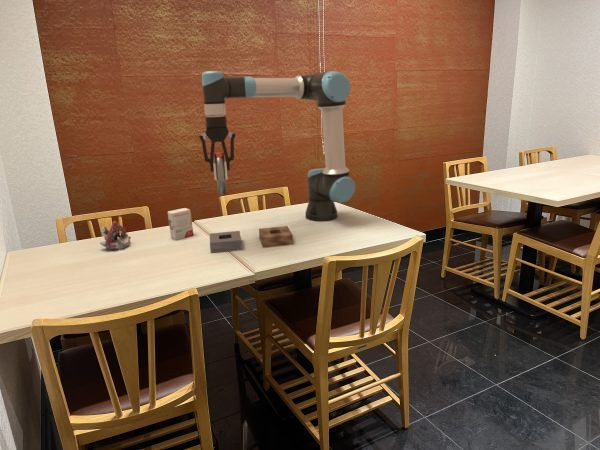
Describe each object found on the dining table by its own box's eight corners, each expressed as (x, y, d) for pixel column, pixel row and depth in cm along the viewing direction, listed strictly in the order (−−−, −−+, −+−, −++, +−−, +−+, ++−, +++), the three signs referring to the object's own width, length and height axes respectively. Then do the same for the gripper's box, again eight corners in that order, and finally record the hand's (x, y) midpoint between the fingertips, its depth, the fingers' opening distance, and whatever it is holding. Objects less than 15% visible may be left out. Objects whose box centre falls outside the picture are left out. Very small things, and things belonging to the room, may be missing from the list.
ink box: (188, 233, 194) (185, 207, 191) (194, 235, 190) (191, 209, 187) (170, 237, 189) (166, 211, 185) (175, 240, 185) (171, 213, 182)
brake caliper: (121, 247, 172) (102, 223, 172) (106, 261, 177) (87, 237, 176) (140, 238, 182) (122, 215, 182) (125, 251, 187) (107, 229, 187)
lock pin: (226, 192, 171) (223, 152, 167) (227, 194, 168) (223, 153, 164) (217, 193, 171) (214, 152, 166) (218, 195, 168) (214, 154, 163)
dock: (240, 239, 183) (239, 230, 181) (242, 249, 171) (241, 239, 170) (210, 242, 180) (209, 233, 179) (210, 253, 169) (209, 243, 168)
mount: (287, 235, 186) (287, 226, 185) (292, 244, 175) (292, 234, 174) (259, 237, 184) (258, 228, 183) (262, 247, 173) (262, 237, 171)
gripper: (237, 114, 166) (242, 176, 173) (192, 116, 163) (199, 179, 170) (239, 115, 159) (243, 179, 166) (192, 117, 156) (198, 182, 163)
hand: (221, 179), depth 168 cm, fingers closed on lock pin, 3 cm apart
